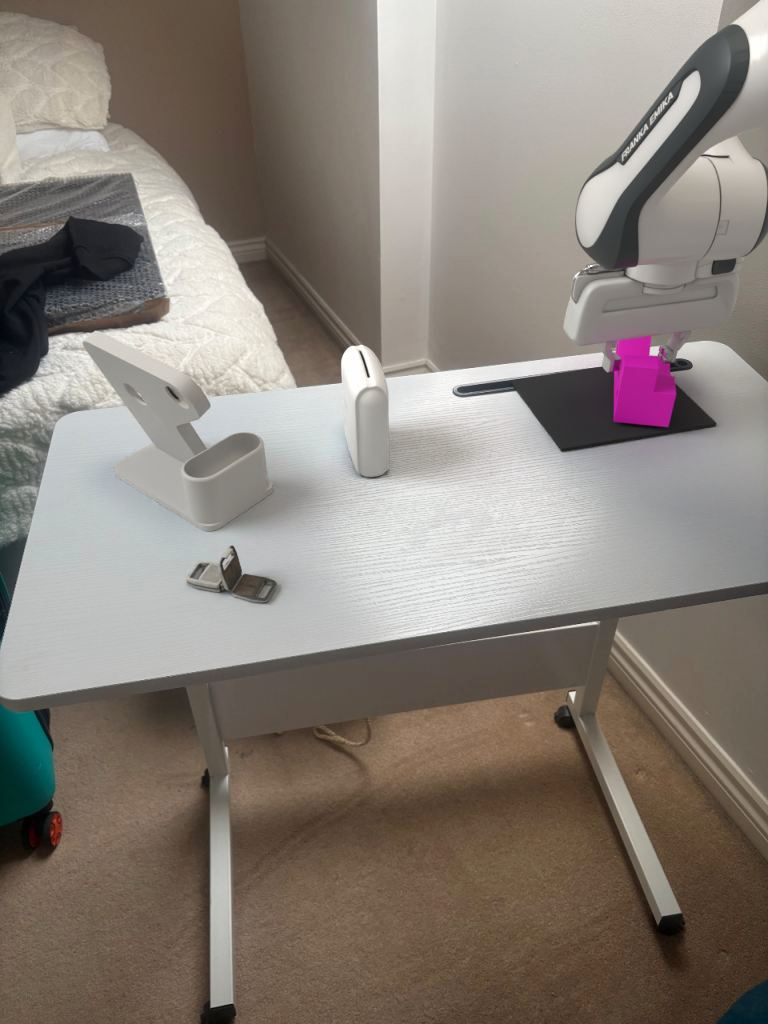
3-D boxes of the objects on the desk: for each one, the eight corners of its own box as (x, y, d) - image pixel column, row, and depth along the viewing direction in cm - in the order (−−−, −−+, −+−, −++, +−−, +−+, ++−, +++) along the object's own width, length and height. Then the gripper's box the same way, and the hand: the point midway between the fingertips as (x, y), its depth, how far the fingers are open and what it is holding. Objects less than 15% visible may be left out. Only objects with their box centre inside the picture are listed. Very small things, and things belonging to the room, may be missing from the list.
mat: (650, 362, 112) (650, 359, 111) (715, 426, 100) (716, 422, 99) (510, 383, 108) (510, 379, 107) (561, 452, 96) (562, 448, 95)
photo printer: (341, 430, 100) (336, 337, 92) (376, 426, 100) (374, 333, 92) (355, 481, 92) (351, 384, 84) (393, 476, 92) (392, 379, 85)
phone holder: (281, 489, 91) (264, 341, 79) (211, 537, 85) (182, 384, 73) (178, 434, 99) (149, 292, 88) (107, 473, 93) (67, 327, 82)
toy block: (668, 427, 97) (681, 371, 93) (613, 421, 99) (624, 366, 94) (663, 363, 109) (675, 310, 104) (614, 359, 110) (623, 306, 105)
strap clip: (184, 586, 79) (176, 553, 77) (199, 565, 82) (192, 533, 79) (266, 606, 77) (261, 573, 74) (279, 584, 79) (274, 551, 77)
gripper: (587, 277, 88) (570, 390, 96) (758, 255, 92) (726, 366, 100) (563, 254, 92) (548, 364, 101) (725, 235, 96) (698, 342, 105)
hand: (638, 365), depth 101 cm, fingers closed on toy block, 6 cm apart
